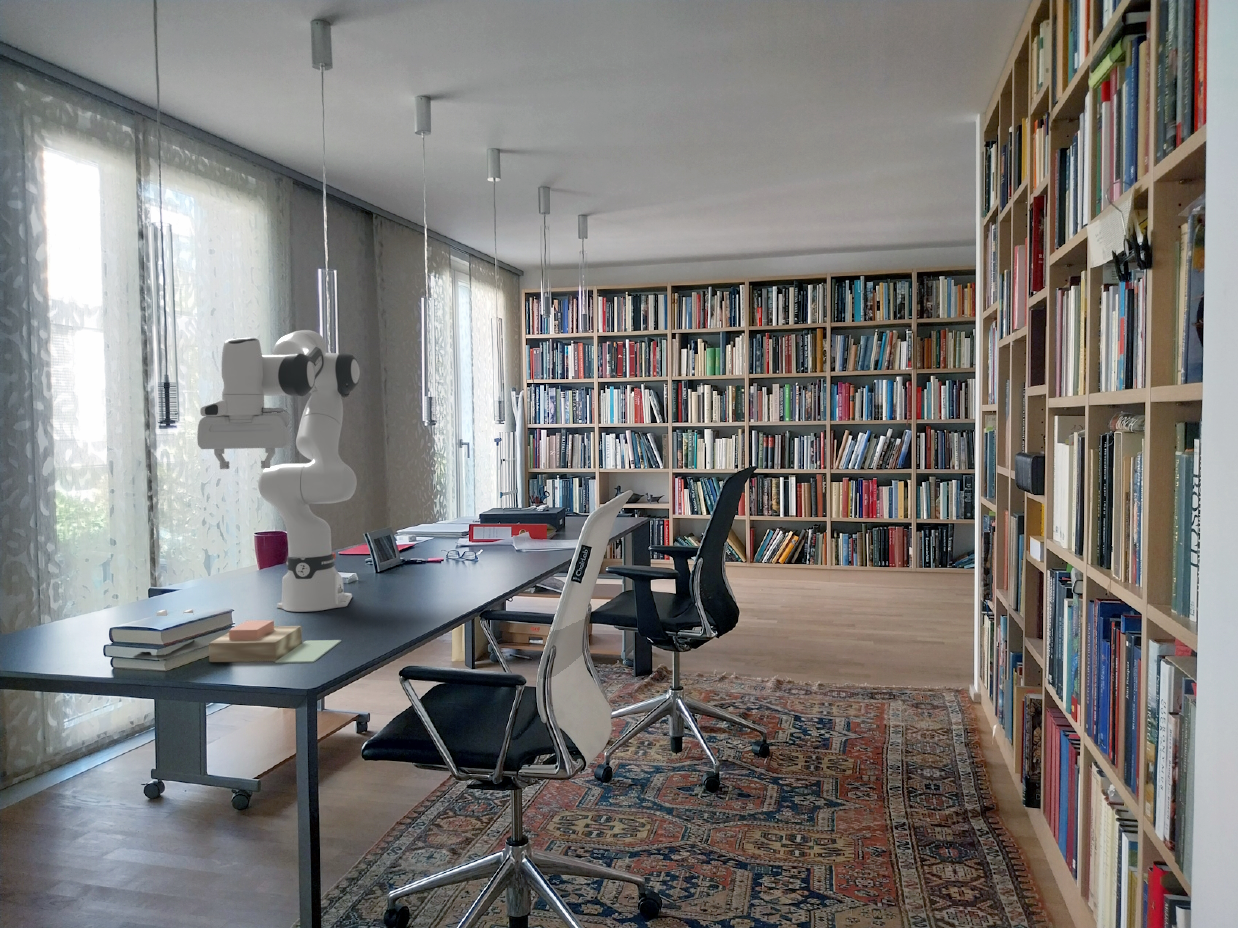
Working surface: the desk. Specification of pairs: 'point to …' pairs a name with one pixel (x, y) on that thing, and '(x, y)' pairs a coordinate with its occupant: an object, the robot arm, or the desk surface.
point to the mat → (308, 651)
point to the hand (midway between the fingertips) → (245, 468)
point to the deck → (256, 646)
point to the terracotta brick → (251, 630)
